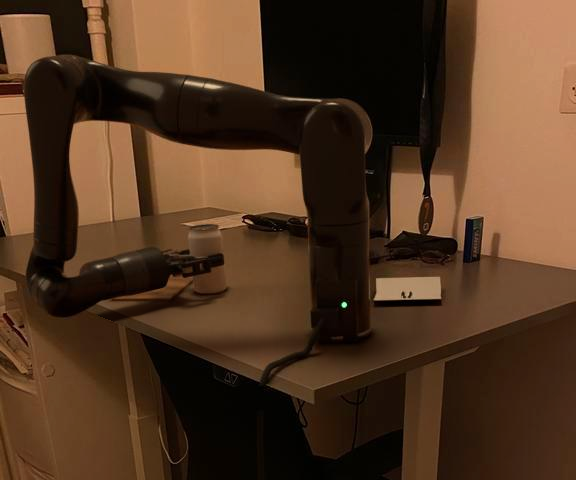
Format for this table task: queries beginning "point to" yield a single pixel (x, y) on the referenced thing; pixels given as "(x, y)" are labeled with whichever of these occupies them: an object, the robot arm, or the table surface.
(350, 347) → the table surface
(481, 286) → the table surface
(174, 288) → the placemat
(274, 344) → the table surface
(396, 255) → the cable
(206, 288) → the can
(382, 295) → the folded paper
